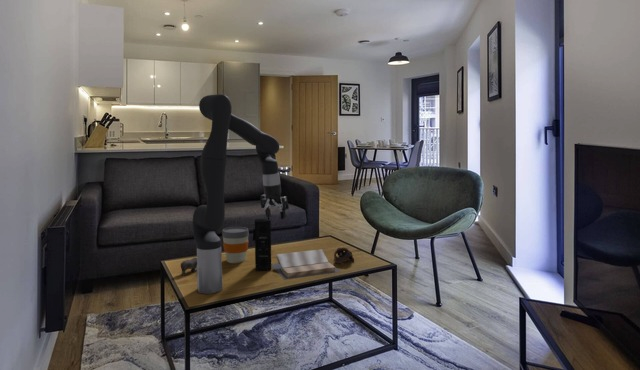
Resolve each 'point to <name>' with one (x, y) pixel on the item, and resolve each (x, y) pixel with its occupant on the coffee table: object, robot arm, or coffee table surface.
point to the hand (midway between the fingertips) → (275, 218)
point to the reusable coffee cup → (235, 243)
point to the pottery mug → (343, 255)
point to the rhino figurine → (189, 265)
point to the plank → (301, 258)
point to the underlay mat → (278, 269)
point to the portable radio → (262, 244)
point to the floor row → (308, 269)
